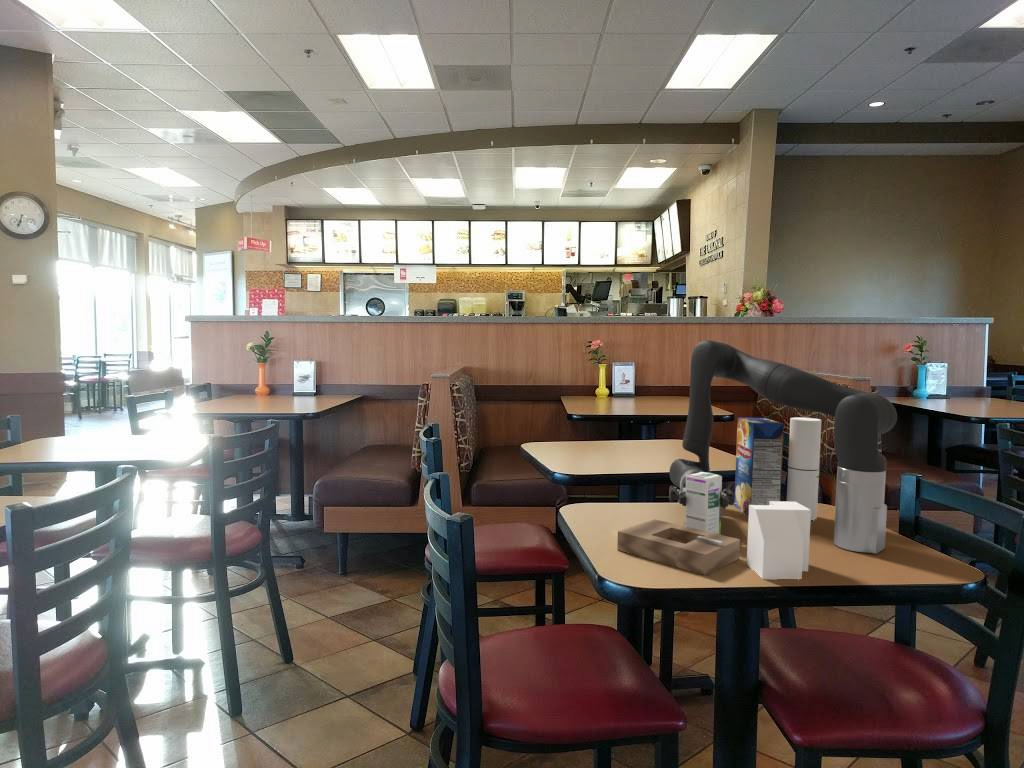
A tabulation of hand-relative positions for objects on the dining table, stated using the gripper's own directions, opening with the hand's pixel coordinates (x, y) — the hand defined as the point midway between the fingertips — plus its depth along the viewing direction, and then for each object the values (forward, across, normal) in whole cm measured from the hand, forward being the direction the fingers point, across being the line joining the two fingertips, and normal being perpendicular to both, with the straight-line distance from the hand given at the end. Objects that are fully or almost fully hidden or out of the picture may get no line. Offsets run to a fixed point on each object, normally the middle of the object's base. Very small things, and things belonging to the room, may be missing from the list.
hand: (704, 502), depth 143 cm
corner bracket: (+15, +12, +9) cm, 22 cm away
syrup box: (-2, 0, +9) cm, 9 cm away
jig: (+11, -6, +8) cm, 15 cm away
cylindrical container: (-27, +27, +9) cm, 39 cm away
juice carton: (-29, +17, +9) cm, 35 cm away
